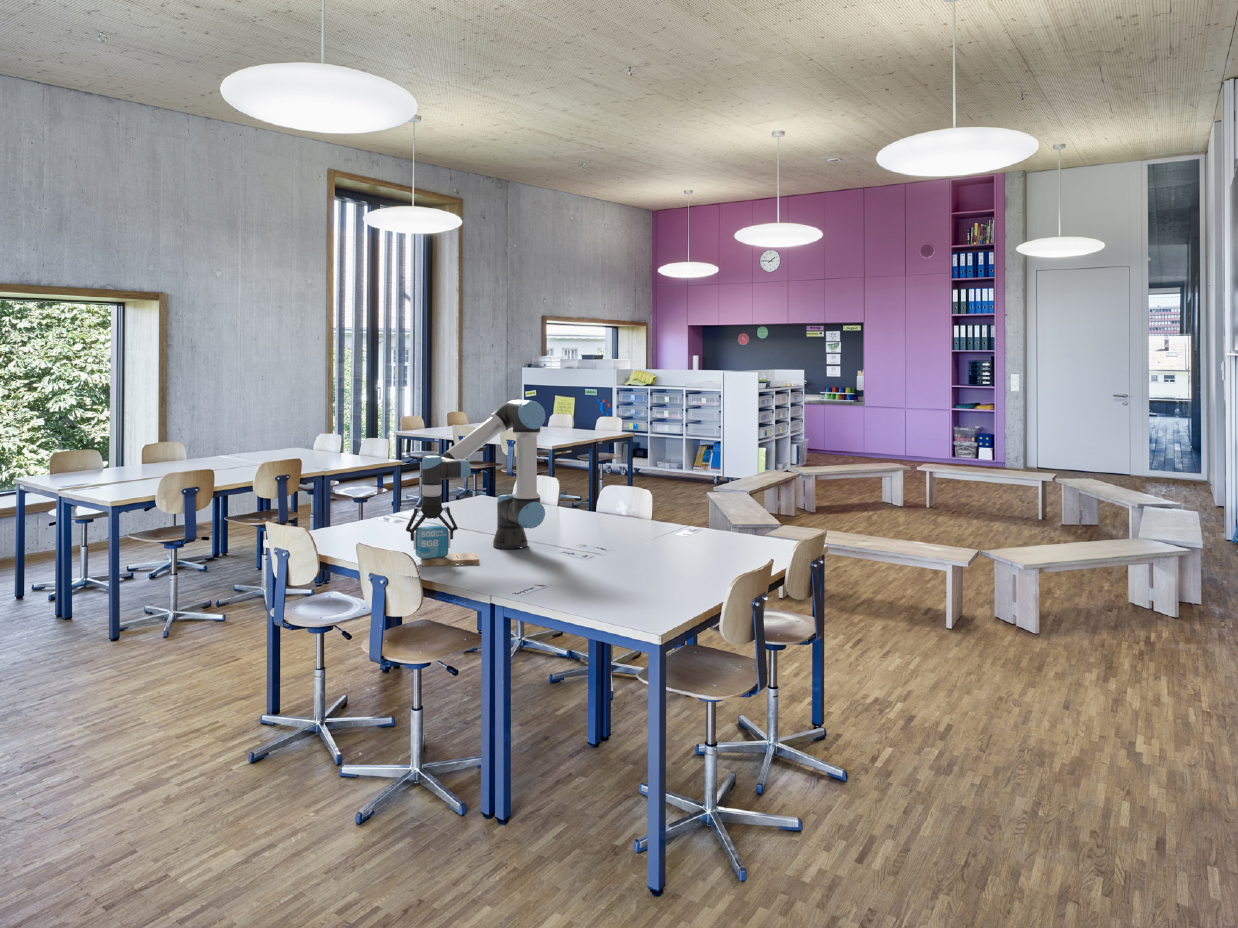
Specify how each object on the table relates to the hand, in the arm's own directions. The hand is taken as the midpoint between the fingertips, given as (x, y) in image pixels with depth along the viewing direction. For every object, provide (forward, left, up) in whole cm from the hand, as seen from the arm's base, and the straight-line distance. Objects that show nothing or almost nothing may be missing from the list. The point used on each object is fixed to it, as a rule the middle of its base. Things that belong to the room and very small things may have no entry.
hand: (432, 548), depth 331 cm
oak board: (-7, 0, -6) cm, 9 cm away
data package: (0, 0, -4) cm, 4 cm away
